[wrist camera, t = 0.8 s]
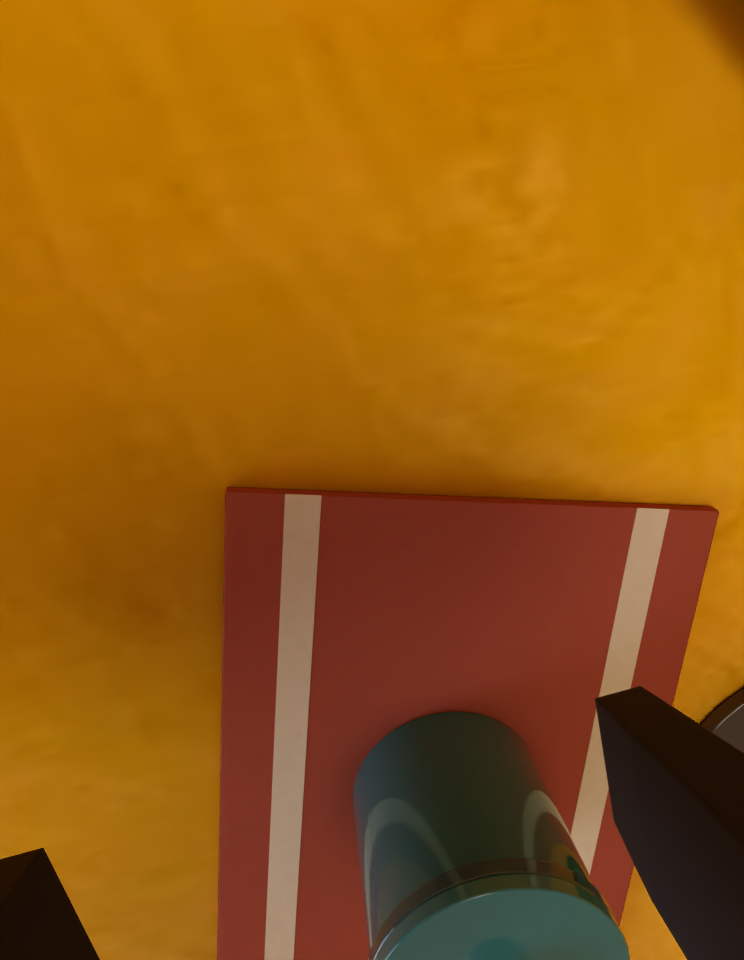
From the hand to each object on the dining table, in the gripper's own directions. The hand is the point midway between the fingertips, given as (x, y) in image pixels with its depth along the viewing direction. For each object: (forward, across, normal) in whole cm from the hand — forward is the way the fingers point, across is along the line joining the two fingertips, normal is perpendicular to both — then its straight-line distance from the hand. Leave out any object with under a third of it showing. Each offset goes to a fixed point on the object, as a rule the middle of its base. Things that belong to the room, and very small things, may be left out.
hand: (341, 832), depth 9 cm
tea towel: (+10, -2, +9) cm, 13 cm away
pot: (+9, -2, +9) cm, 13 cm away
